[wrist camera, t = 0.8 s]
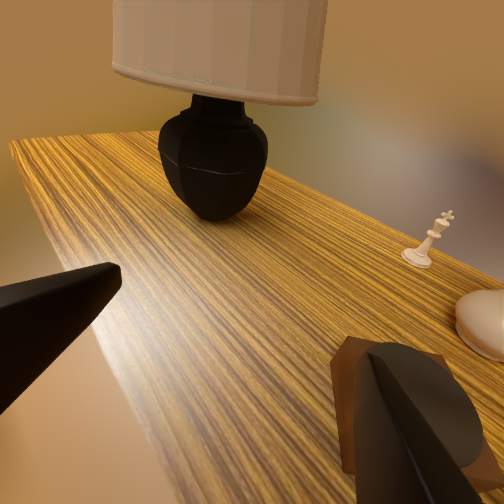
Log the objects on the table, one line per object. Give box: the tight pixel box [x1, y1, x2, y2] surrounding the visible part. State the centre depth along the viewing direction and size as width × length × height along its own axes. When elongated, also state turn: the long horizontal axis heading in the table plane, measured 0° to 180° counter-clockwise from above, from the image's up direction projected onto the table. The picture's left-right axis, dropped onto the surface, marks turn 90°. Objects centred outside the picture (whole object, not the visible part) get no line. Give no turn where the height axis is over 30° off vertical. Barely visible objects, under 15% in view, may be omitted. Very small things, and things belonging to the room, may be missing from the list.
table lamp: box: [112, 0, 328, 220], centre depth 34 cm, size 27×27×40 cm
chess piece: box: [401, 211, 454, 269], centre depth 41 cm, size 5×5×10 cm
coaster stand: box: [330, 336, 504, 493], centre depth 21 cm, size 9×9×6 cm
